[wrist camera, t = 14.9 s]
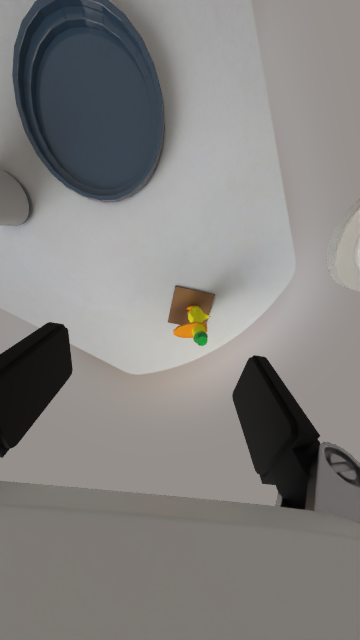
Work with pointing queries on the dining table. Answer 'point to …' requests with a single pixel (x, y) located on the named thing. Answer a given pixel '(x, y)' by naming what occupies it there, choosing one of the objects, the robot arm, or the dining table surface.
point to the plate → (89, 97)
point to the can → (12, 201)
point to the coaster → (188, 304)
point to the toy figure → (194, 326)
